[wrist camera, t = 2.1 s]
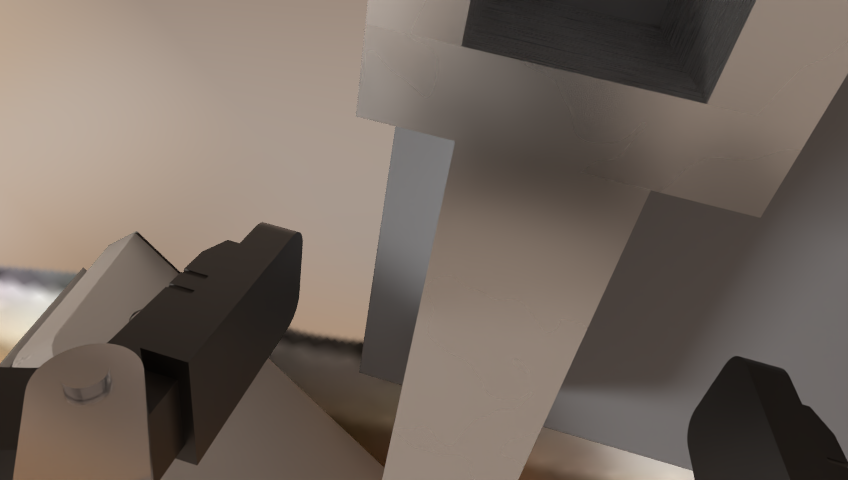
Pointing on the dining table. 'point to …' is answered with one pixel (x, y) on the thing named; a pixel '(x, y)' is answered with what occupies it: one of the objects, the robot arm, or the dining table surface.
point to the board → (661, 290)
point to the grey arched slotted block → (254, 414)
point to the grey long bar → (569, 179)
